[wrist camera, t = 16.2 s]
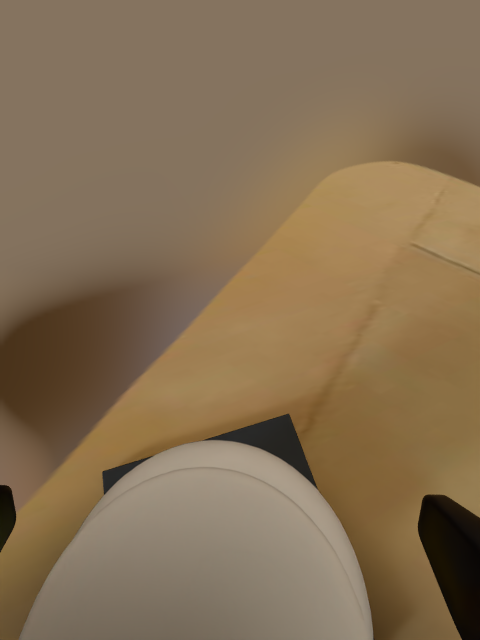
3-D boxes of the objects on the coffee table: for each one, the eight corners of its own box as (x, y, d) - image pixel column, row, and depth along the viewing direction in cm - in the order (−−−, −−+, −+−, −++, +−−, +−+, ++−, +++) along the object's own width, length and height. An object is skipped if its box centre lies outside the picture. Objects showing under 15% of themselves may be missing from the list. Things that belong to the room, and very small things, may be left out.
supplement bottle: (170, 697, 10) (-222, 1763, 2) (136, 508, 13) (-76, 493, 4) (325, 614, 11) (626, 957, 3) (264, 455, 14) (307, 356, 5)
